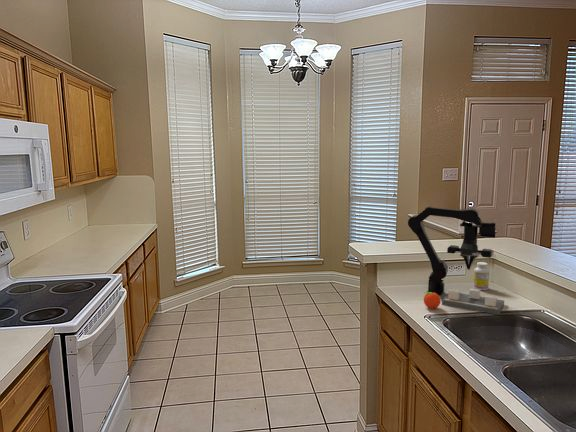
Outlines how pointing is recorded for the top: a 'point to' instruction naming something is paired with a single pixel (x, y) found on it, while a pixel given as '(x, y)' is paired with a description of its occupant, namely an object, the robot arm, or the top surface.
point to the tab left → (454, 294)
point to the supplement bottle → (481, 276)
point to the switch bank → (474, 304)
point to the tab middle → (474, 293)
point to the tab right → (490, 300)
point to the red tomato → (431, 300)
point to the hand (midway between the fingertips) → (468, 269)
